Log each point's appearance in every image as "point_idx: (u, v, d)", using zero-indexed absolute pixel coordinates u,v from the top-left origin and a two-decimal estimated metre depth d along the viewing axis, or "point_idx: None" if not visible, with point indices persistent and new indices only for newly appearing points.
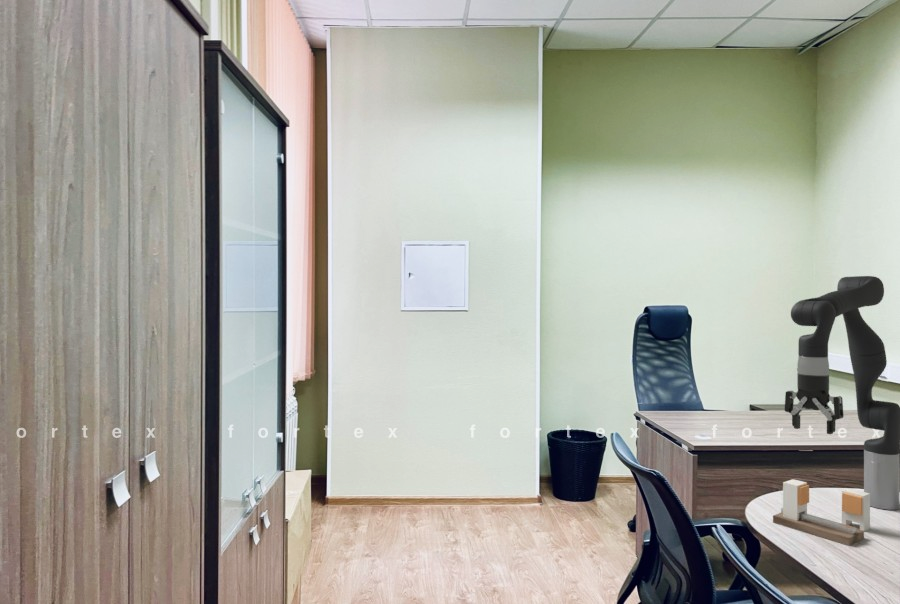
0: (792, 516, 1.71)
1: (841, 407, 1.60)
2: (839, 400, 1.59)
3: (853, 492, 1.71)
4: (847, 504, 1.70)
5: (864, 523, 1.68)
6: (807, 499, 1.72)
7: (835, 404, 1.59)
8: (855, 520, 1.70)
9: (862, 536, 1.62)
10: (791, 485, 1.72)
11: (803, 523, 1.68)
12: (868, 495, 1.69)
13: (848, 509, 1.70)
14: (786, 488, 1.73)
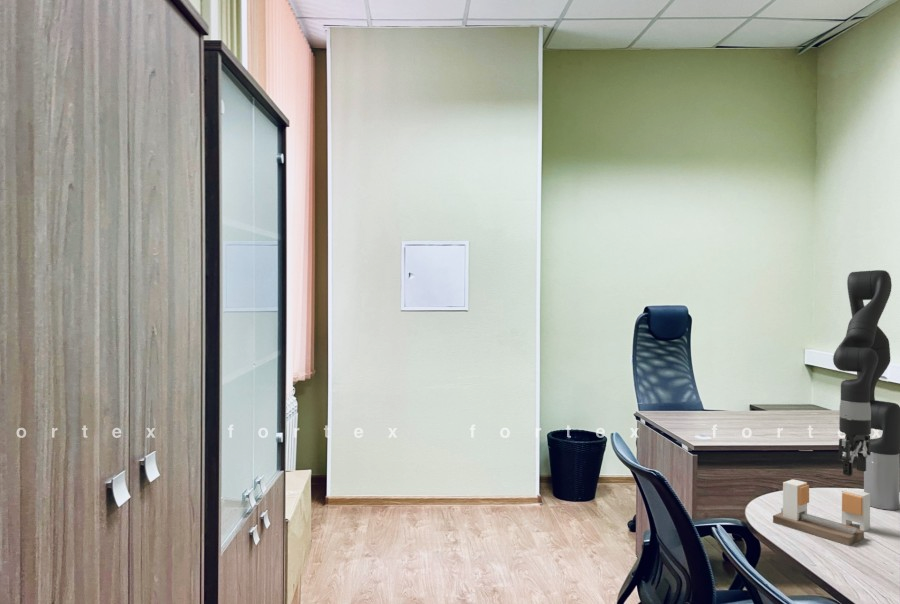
0: (792, 516, 1.71)
1: None
2: None
3: (853, 492, 1.71)
4: (847, 504, 1.71)
5: (864, 523, 1.68)
6: (807, 499, 1.72)
7: (869, 441, 1.74)
8: (855, 520, 1.70)
9: (862, 536, 1.62)
10: (791, 485, 1.72)
11: (803, 523, 1.68)
12: (868, 495, 1.69)
13: (848, 509, 1.70)
14: (786, 488, 1.73)
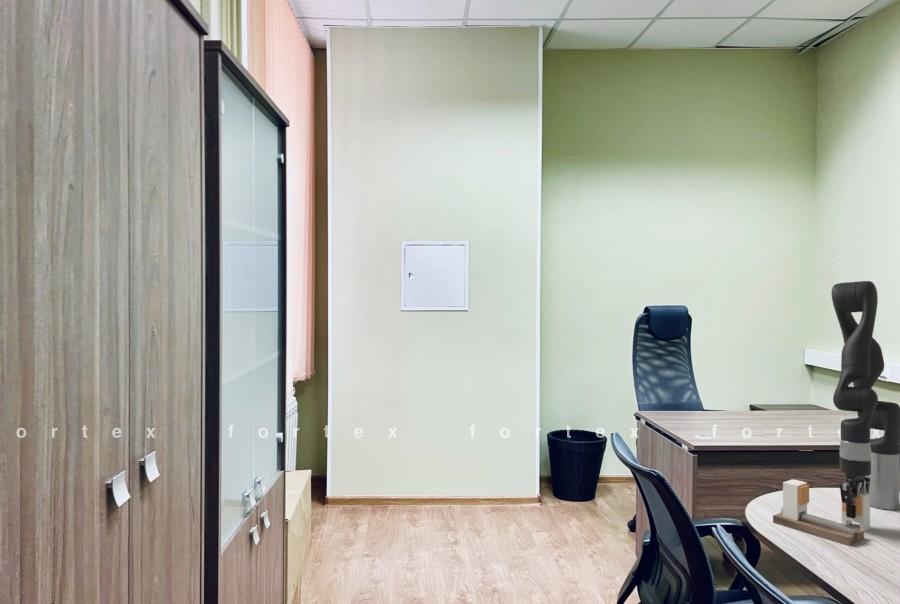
0: (792, 516, 1.71)
1: None
2: None
3: None
4: None
5: (864, 523, 1.68)
6: (807, 499, 1.72)
7: (868, 484, 1.73)
8: (855, 520, 1.70)
9: (862, 536, 1.62)
10: (791, 485, 1.72)
11: (803, 523, 1.68)
12: (868, 495, 1.69)
13: None
14: (786, 488, 1.73)
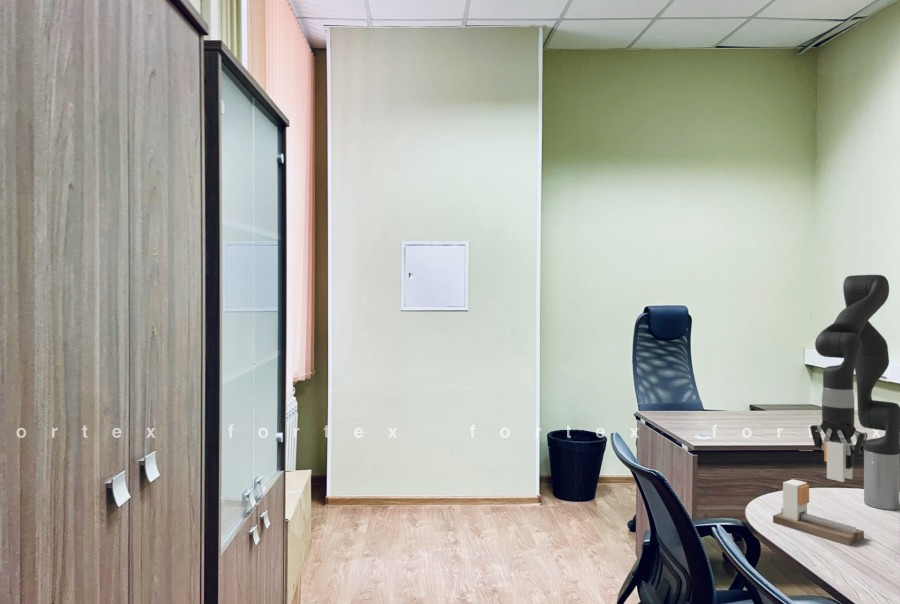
0: (792, 516, 1.71)
1: (863, 444, 1.59)
2: (864, 437, 1.58)
3: (836, 441, 1.65)
4: None
5: (827, 470, 1.64)
6: (807, 499, 1.72)
7: (859, 440, 1.59)
8: None
9: (862, 536, 1.62)
10: (791, 485, 1.72)
11: (803, 523, 1.68)
12: (839, 445, 1.61)
13: None
14: (786, 488, 1.73)
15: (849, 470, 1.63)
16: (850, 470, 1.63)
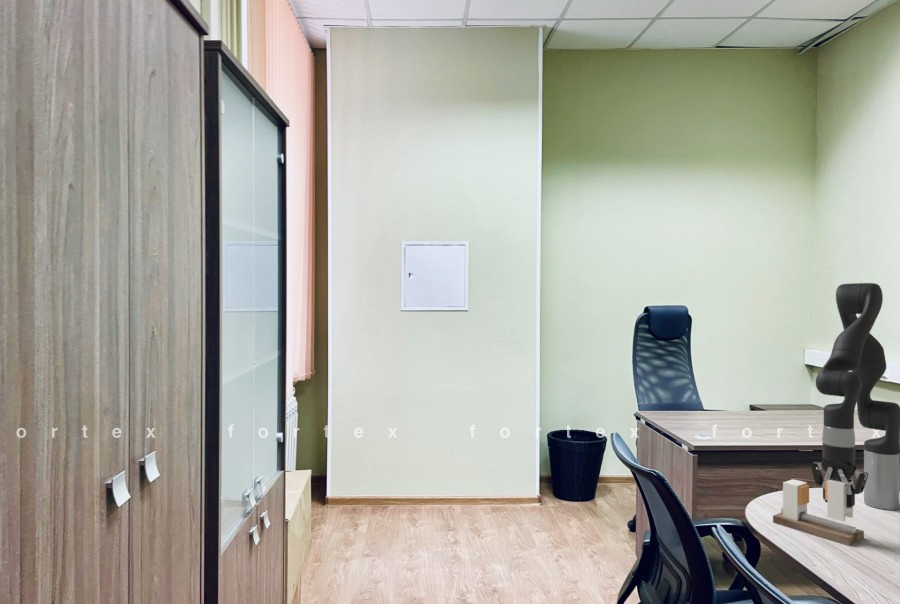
0: (792, 516, 1.71)
1: (864, 483, 1.59)
2: (864, 477, 1.58)
3: None
4: None
5: (828, 508, 1.64)
6: (807, 499, 1.72)
7: (860, 480, 1.59)
8: None
9: (862, 536, 1.62)
10: (791, 485, 1.72)
11: (803, 523, 1.68)
12: (840, 484, 1.61)
13: None
14: (786, 488, 1.73)
15: (850, 509, 1.63)
16: (851, 509, 1.63)
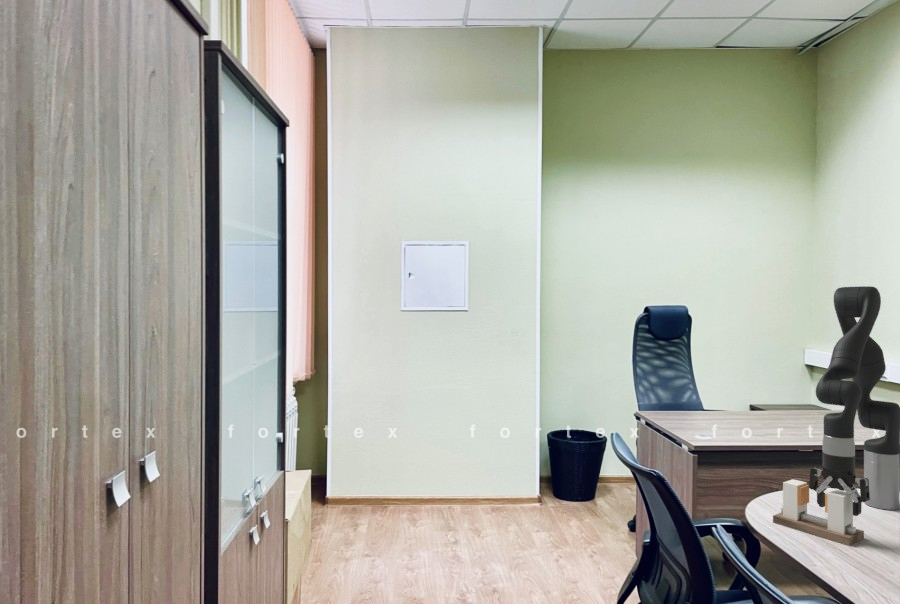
0: (792, 516, 1.71)
1: (867, 489, 1.58)
2: (865, 483, 1.58)
3: (837, 492, 1.65)
4: None
5: (828, 521, 1.64)
6: (807, 499, 1.72)
7: (862, 486, 1.58)
8: None
9: (862, 536, 1.62)
10: (791, 485, 1.72)
11: (803, 523, 1.68)
12: (840, 497, 1.61)
13: None
14: (786, 488, 1.73)
15: (850, 522, 1.63)
16: (851, 522, 1.63)
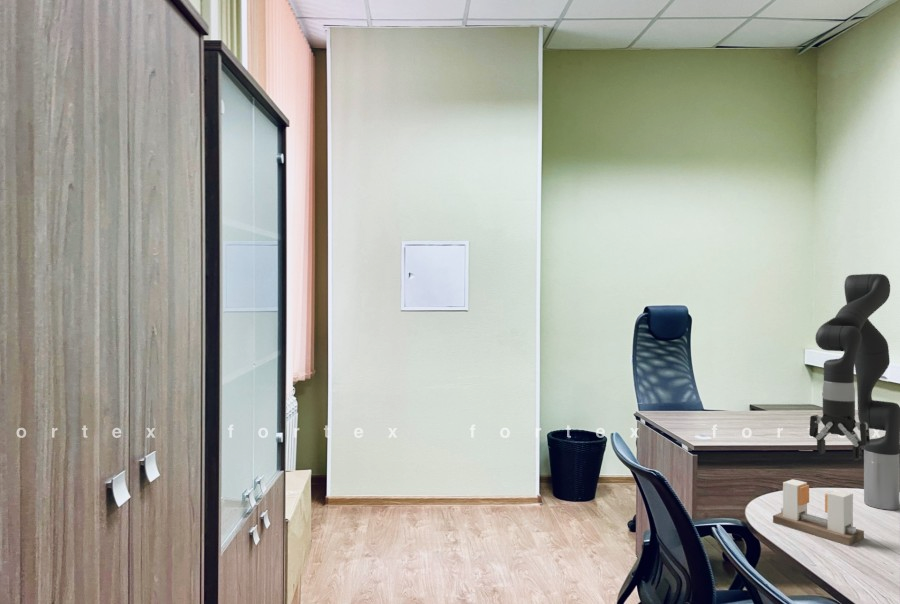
0: (792, 516, 1.71)
1: (867, 433, 1.59)
2: (865, 426, 1.58)
3: (837, 492, 1.65)
4: None
5: (828, 521, 1.64)
6: (807, 499, 1.72)
7: (862, 430, 1.58)
8: None
9: (862, 536, 1.62)
10: (791, 485, 1.72)
11: (803, 523, 1.68)
12: (840, 497, 1.61)
13: None
14: (786, 488, 1.73)
15: (850, 522, 1.63)
16: (851, 522, 1.63)
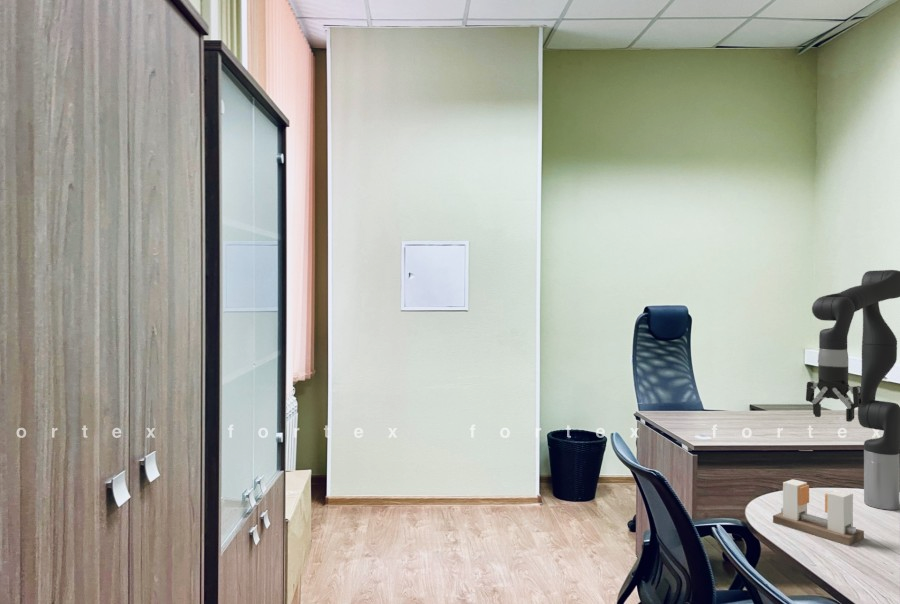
0: (792, 516, 1.71)
1: (860, 396, 1.71)
2: (858, 389, 1.70)
3: (837, 492, 1.65)
4: None
5: (828, 521, 1.64)
6: (807, 499, 1.72)
7: (855, 393, 1.70)
8: None
9: (862, 536, 1.62)
10: (791, 485, 1.72)
11: (803, 523, 1.68)
12: (840, 497, 1.61)
13: None
14: (786, 488, 1.73)
15: (850, 522, 1.63)
16: (851, 522, 1.63)
